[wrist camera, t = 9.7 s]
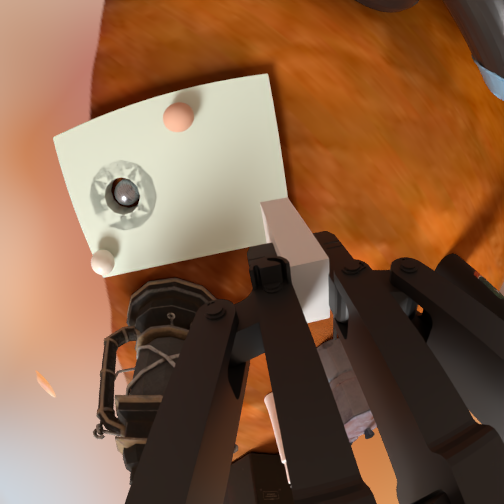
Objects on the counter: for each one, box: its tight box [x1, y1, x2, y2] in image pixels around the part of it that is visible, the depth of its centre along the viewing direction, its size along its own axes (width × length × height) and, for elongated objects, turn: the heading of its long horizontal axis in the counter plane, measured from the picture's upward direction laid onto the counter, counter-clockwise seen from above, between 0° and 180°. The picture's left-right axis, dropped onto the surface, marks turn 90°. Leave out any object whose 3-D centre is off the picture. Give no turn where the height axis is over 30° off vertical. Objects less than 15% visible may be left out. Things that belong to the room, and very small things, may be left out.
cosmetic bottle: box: [264, 392, 290, 484], centre depth 47 cm, size 6×6×22 cm
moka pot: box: [317, 338, 377, 445], centre depth 43 cm, size 10×15×20 cm, turn 176°
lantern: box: [93, 278, 238, 485], centre depth 30 cm, size 20×16×30 cm
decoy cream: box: [91, 250, 115, 275], centre depth 32 cm, size 3×3×3 cm
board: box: [53, 74, 288, 278], centre depth 32 cm, size 20×26×2 cm
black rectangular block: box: [223, 453, 294, 504], centre depth 70 cm, size 38×20×25 cm, turn 150°
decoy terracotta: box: [163, 102, 194, 132], centre depth 26 cm, size 3×3×3 cm
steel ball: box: [115, 179, 140, 205], centre depth 31 cm, size 3×3×3 cm
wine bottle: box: [435, 254, 504, 321], centre depth 32 cm, size 8×8×30 cm
